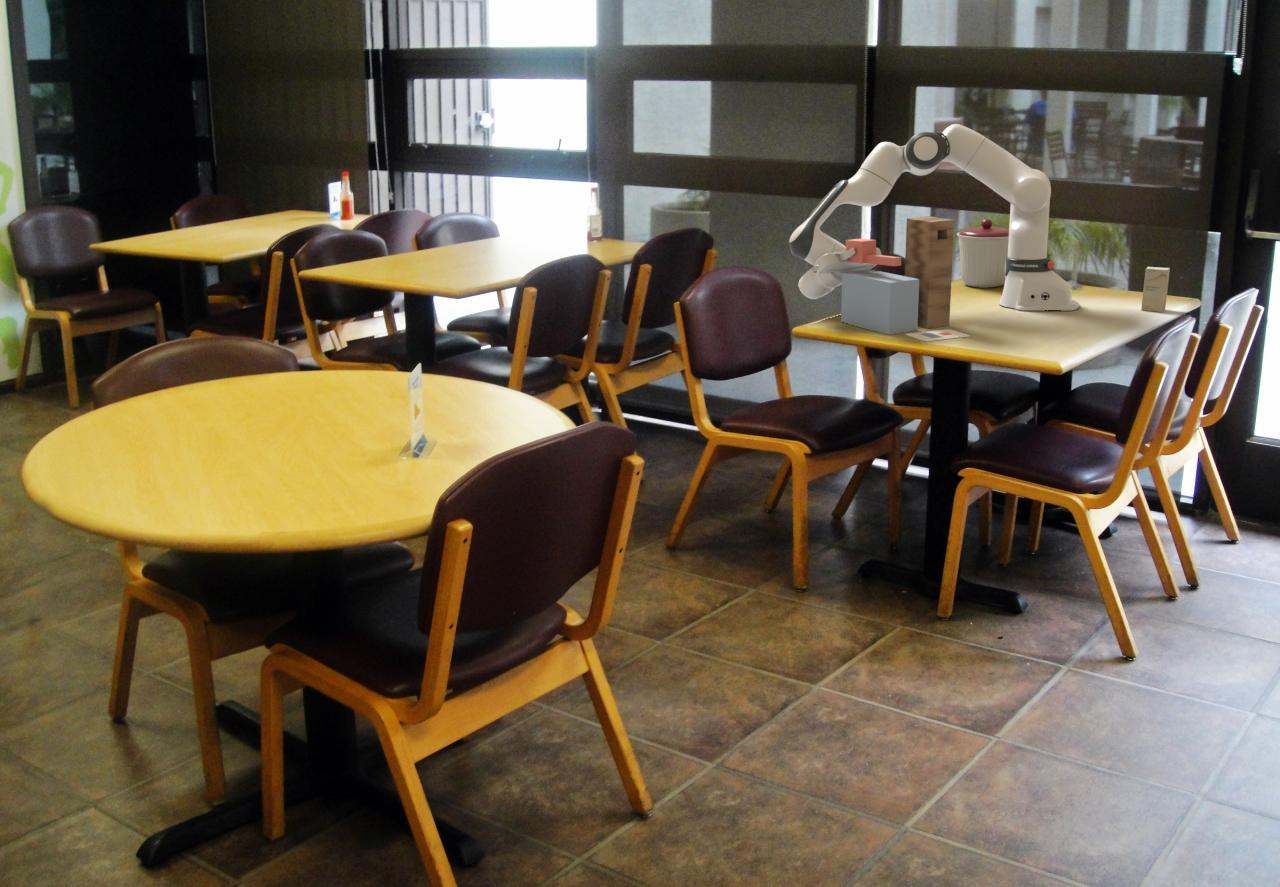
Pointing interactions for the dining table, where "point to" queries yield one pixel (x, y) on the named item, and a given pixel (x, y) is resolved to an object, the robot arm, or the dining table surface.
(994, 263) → the canister
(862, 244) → the peg brick
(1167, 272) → the skincare box
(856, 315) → the base block
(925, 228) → the stand
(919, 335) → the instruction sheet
